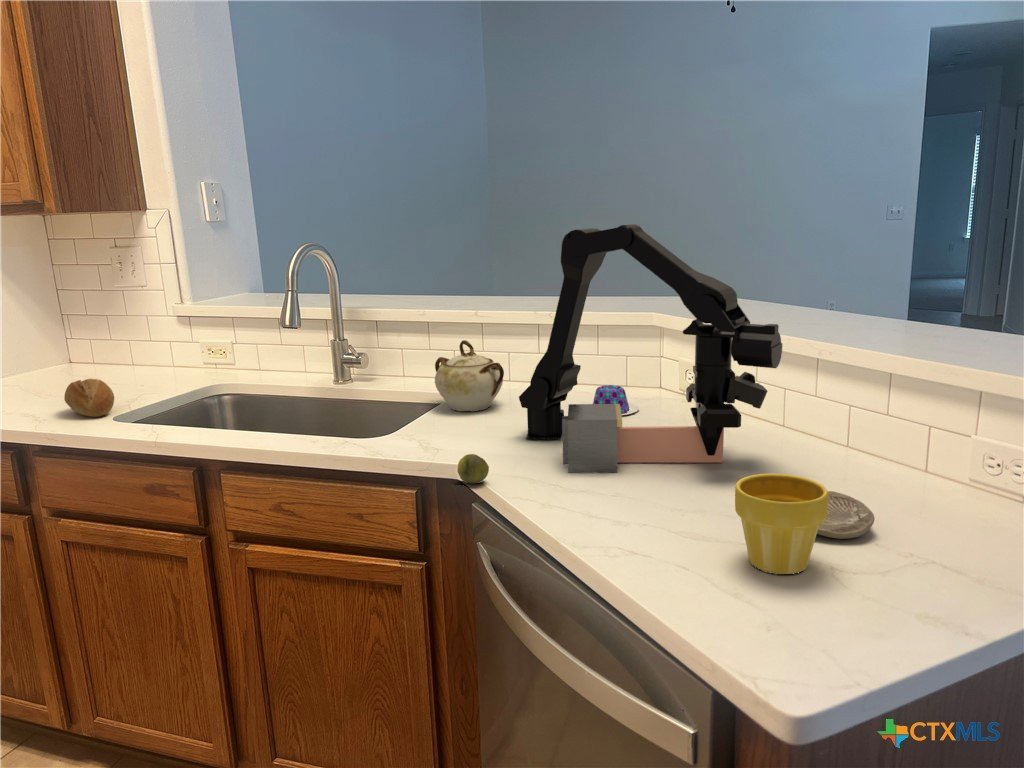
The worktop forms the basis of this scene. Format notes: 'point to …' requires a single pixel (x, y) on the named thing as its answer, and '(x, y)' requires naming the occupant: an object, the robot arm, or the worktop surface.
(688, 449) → the salmon pink plank
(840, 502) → the fossil
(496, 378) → the sugar bowl
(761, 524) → the plant pot
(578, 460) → the grey upright box
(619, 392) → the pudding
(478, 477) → the lime
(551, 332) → the robot arm
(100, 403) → the bread roll
